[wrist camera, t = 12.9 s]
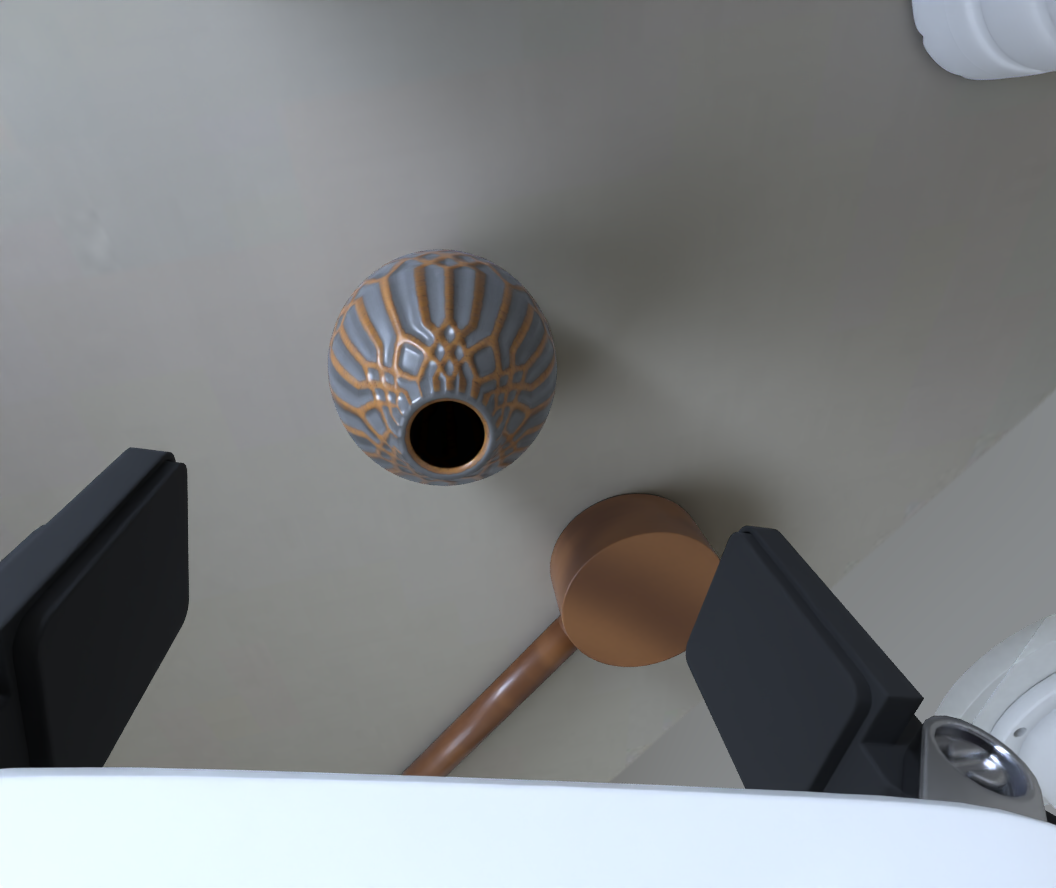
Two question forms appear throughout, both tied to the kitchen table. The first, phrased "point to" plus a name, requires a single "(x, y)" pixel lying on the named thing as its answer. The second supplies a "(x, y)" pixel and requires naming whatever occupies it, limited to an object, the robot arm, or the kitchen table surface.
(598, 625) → the ladle
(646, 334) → the kitchen table surface
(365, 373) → the vase
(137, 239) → the kitchen table surface
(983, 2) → the water bottle
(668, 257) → the kitchen table surface
